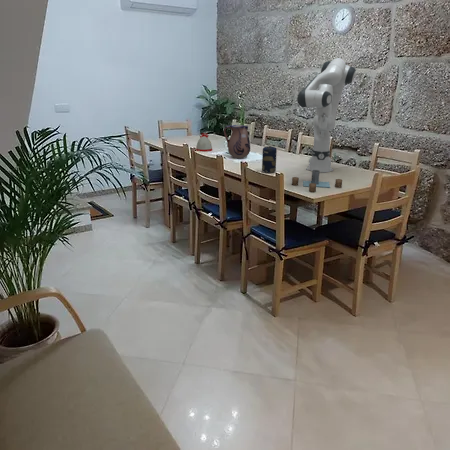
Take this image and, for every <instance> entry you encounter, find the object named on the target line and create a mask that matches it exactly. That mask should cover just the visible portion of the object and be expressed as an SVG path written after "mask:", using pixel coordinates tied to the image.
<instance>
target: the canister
mask: <svg viewBox="0 0 450 450" xmlns="http://www.w3.org/2000/svg"><path fill="white" fill-rule="evenodd" d="M277 152H278V150H277V147H275V146H271V145H269V146H265V147H264V146H263V147H262V159H261V161H262V162H261V171H262V172H263V173H266V174H267V173H268V174H272V173H275V172H276V170H277Z"/></svg>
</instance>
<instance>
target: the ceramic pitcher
mask: <svg viewBox="0 0 450 450" xmlns="http://www.w3.org/2000/svg"><path fill="white" fill-rule="evenodd" d="M227 129H230V130H231V135H230V137H228V135H227ZM248 129H249V126H248V125H244V124H235V125H234V124H233V125H226V126H225V127H224V129H223V135H224V138H225V140H226V144H227V145H226V146H227V150H228V154H229V155H230V157H232V158H233V159H238V160H239V159H246V158H247V157H248V156H249V154H250V152H251V143H250V137H249V134H248V133H249V132H248V131H249V130H248Z"/></svg>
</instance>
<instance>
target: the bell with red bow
mask: <svg viewBox="0 0 450 450" xmlns="http://www.w3.org/2000/svg"><path fill="white" fill-rule="evenodd" d="M200 134H201V135H199V137H200V138H199V139H198V141H197V143H196V149H195V150H196V152H206V153H207V152H211V151H213V146H212V141H211V140H210V139H209V135H210V134H208V133H205V132H202V133H200Z"/></svg>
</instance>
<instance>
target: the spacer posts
mask: <svg viewBox="0 0 450 450" xmlns="http://www.w3.org/2000/svg"><path fill="white" fill-rule="evenodd" d="M299 178H300V177H299V176H298V177H297V176H292V178H291V186H293V187H297V186H299ZM334 182H335V183H334V187H335V189H342V187H343V179H341V178H336V179H335V181H334ZM316 192H317V187H316V184H315V183H310V184H309V187H308V193H316Z"/></svg>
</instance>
